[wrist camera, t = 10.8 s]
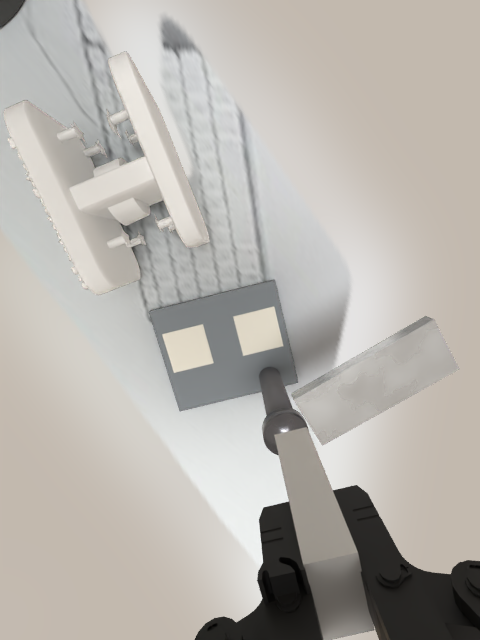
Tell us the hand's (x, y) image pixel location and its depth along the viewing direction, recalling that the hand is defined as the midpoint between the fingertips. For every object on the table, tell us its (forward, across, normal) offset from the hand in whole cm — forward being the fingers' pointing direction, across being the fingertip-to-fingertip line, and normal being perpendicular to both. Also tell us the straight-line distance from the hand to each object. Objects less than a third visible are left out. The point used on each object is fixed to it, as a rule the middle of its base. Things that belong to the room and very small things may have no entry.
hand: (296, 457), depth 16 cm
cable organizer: (+25, -8, +16) cm, 31 cm away
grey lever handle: (+12, +6, -4) cm, 14 cm away
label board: (+24, -4, -1) cm, 25 cm away
